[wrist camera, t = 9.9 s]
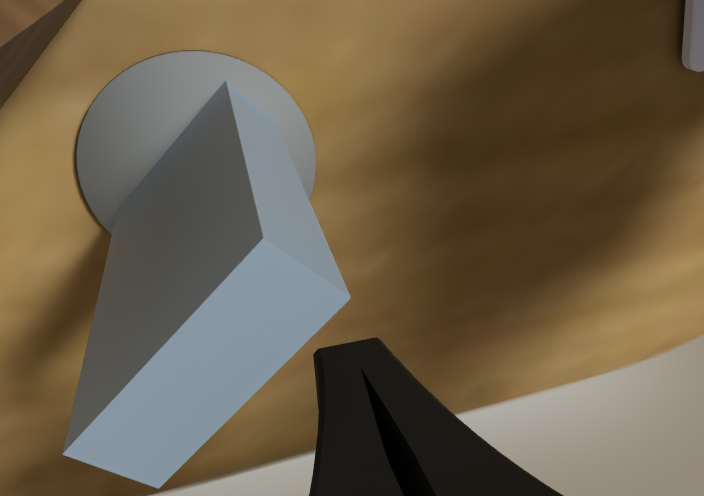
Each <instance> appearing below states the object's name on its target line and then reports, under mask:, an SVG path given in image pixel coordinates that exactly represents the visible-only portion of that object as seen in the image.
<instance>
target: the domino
mask: <svg viewBox="0 0 704 496" xmlns="http://www.w3.org/2000/svg"><path fill="white" fill-rule="evenodd" d="M80 1H81V0H0V109H1V107H2V106H3V104H4V103H5V102H6V100H7V99H8V98H9V96H10V95H11V94H12V92H13V91H14V90H15V88H16V87H17V86H18V84H19V83H20V82H21V80H22V79H23V78H24V76H25V75H26V74H27V72H28V71H29V70H30V68H31V67H32V66H33V64H34V63H35V62H36V60H37V59H38V57H39V56H40V55H41V53H42V52H43V51H44V49H45V48H46V47H47V45H48V44H49V43H50V41H51V40H52V39H53V37H54V36H55V35H56V33H57V32H58V31H59V29H60V28H61V27H62V25H63V24H64V23H65V21H66V20H67V19H68V17H69V16H70V14H71V13H72V12H73V10H74V9H75V8H76V6H77V5H78V4H79V2H80Z"/></svg>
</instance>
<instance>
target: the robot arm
mask: <svg viewBox="0 0 704 496" xmlns="http://www.w3.org/2000/svg"><path fill="white" fill-rule="evenodd" d="M682 64H683V65H684V66H685V68H687V69H690V70H693V71H696V72H700V71H704V0H686V2H685V17H684V32H683V46H682ZM313 357H314V367H315V377H316V388H317V398H318V408H319V420H318V436H317V445H316V453H315V461H314V469H313V477H312V483H311V488H310V494H309V496H563V495H562V494H560V493H558V492H557V491H555V490H553V489H552V488H550V487H549V486H547V485H545V484H544V483H542V482H541V481H540V480H538V479H537V478H535V477H534V476H532V475H531V474H529V473H528V472H526V471H525V470H523V469H522V468H521V467H519V466H518V465H516V464H515V463H514V462H512V461H511V460H510V459H508V458H507V457H505V456H504V455H502V454H501V453H500V452H498V451H497V450H496V449H495V448H493V447H492V446H491V445H490V444H488V443H487V442H486V441H485V440H483V439H482V438H481V437H480V436H478V435H477V434H476V433H475V432H474V431H472V430H471V429H470V428H469V427H468V426H466V425H465V424H464V423H463V422H462V421H461V420H459V419H458V418H457V417H456V416H455V415H454V414H453V413H452V412H450V411H449V410H448V409H447V408H446V407H445V406H444V405H443V404H442V403H441V402H440V401H439V400H438V399H436V398H435V397H434V396H433V395H432V394H431V393H430V392H429V391H428V390H427V389H426V388H425V387H424V386H423V385H422V384H421V383H420V382H419V381H418V380H417V379H416V378H415V377H414V376H413V375H412V374H411V373H410V372H409V371H408V370H407V369H406V368H405V367H404V366H403V365H402V363H401V362H400V361H399V360H398V359H397V358H396V357H395V356H394V355H393V354H392V352H391V351H390V350H389V349H388V348H387V347H386V346H385V344H384V343H383V342H382V341H381V340H379V339H378V338H377V337H376V338H371V339H366V340H361V341H356V342H351V343H346V344H341V345H335V346H330V347H325V348H320V349H318V350H317V351H316V352H315V353H314V354H313Z"/></svg>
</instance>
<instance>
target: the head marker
mask: <svg viewBox="0 0 704 496" xmlns="http://www.w3.org/2000/svg"><path fill="white" fill-rule="evenodd" d="M225 81H227V82H229V83H230V84H231V85H232V86H233V87H235V88H236V89H237V90H238V91H239V92H241V93H242V94H243V95H244V96H245V97H247V98H248V99H249V100H250V101H251V102H253V103H254V104H255V105H256V106H257V107H259V108H260V109H261V110H262V111H263V112H264V113H266V114H267V115H268V116H269V117H270V118H272V119H273V120H274V121H275V122H276V124H277V126H278V129H279V131H280V133H281V136H282V138H283V140H284V143H285V145H286V147H287V150H288V152H289V154H290V157H291V159H292V161H293V164H294V166H295V168H296V171H297V173H298V175H299V178H300V180H301V182H302V185H303V187H304V189H305V192H306V194H307V197H308V199H309V200H310V197H311V194H312V190H313V187H314V181H315V176H316V154H315V146H314V142H313V138H312V134H311V131H310V129H309V126H308V123H307V121H306V119H305V117H304V115H303V114H302V112H301V110H300V108H299V107H298V105H297V104H296V102H295V101H294V100H293V98H292V97H291V96H290V94H289V93H288V92H287V91H286V90H285V89H284V88H283V87H282V86H281V85H280V84H279V83H278V82H277V81H276V80H274V79H273V78H272V77H271V76H269V75H268V74H267V73H265V72H264V71H262V70H260V69H259V68H257V67H255V66H254V65H252V64H250V63H247V62H245V61H243V60H240V59H238V58H236V57H232V56H229V55H225V54H221V53H216V52H209V51H198V50H184V51H176V52H168V53H164V54H160V55H156V56H153V57H150V58H148V59H145V60H143V61H140V62H138V63H136V64H134V65H133V66H131V67H129V68H127V69H126V70H124V71H122V72H121V73H120V74H119V75H117V76H116V77H115V78H114V79H112V80H111V81H110V82H109V83H108V84H107V85H106V86H105V87H104V89H103V90H102V91H101V92H100V93H99V94H98V96H97V97H96V99H95V100H94V102H93V103H92V105H91V106H90V108H89V110H88V112H87V115H86V117H85V119H84V121H83V123H82V127H81V130H80V134H79V137H78V145H77V170H78V176H79V181H80V185H81V188H82V191H83V194H84V197H85V199H86V201H87V203H88V204H89V206H90V208H91V210H92V212H93V213H94V215H95V216H96V218H97V219H98V220H99V222H100V223H101V224H102V225H103V226H104V227H105V229H106V230H107V231H108V232H109V233H110V234H111V235H112V232H113V228H114V224H115V219H116V215H117V210H118V208H119V207H120V206H121V205H122V203H123V202H124V201H125V200H126V199H127V197H128V196H129V195H130V194H131V193H132V191H133V190H134V189H135V188H136V187H137V186H138V184H139V183H140V182H141V181H142V180H143V178H144V177H145V176H146V175H147V174H148V172H149V171H150V170H151V169H152V168H153V166H154V165H155V164H156V163H157V162H158V161H159V159H160V158H161V157H162V156H163V155H164V153H165V152H166V151H167V150H168V149H169V147H170V146H171V145H172V144H173V143H174V141H175V140H176V139H177V138H178V137H179V135H180V134H181V133H182V132H183V131H184V130H185V128H186V127H187V126H188V125H189V124H190V122H191V121H192V120H193V119H194V118H195V116H196V115H197V114H198V113H199V112H200V110H201V109H202V108H203V107H204V106H205V105H206V103H207V102H208V101H209V100H210V99H211V97H212V96H213V95H214V94H215V93H216V91H217V90H218V89H219V88H220V87H221V85H222V84H223V83H224V82H225Z"/></svg>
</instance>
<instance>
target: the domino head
mask: <svg viewBox="0 0 704 496" xmlns="http://www.w3.org/2000/svg"><path fill="white" fill-rule="evenodd" d="M350 299H351V297H350V295H349V293H348V290H347V288H346V286H345V283H344V281H343V278H342V276H341V274H340V271H339V269H338V267H337V264H336V262H335V260H334V257H333V255H332V253H331V250H330V248H329V246H328V243H327V241H326V239H325V236H324V234H323V232H322V229H321V227H320V225H319V222H318V220H317V218H316V215H315V213H314V211H313V208H312V206H311V204H310V201H309V199H308V197H307V194H306V192H305V189H304V187H303V185H302V182H301V180H300V178H299V175H298V173H297V171H296V168H295V166H294V164H293V161H292V159H291V157H290V154H289V152H288V150H287V147H286V145H285V143H284V140H283V138H282V136H281V133H280V131H279V129H278V126H277V124H276V122H275V121H274V120H273V119H272V118H270V117H269V116H268V115H267V114H266V113H264V112H263V111H262V110H261V109H260V108H259V107H257V106H256V105H255V104H254V103H253V102H251V101H250V100H249V99H248V98H247V97H245V96H244V95H243V94H242V93H241V92H239V91H238V90H237V89H236V88H235V87H233V86H232V85H231V84H230V83H229V82H227V81H225V82H224V83H223V84H222V85H221V87H220V88H219V89H218V90H217V91H216V93H215V94H214V95H213V96H212V97H211V99H210V100H209V101H208V102H207V103H206V105H205V106H204V107H203V108H202V109H201V110H200V112H199V113H198V114H197V115H196V116H195V118H194V119H193V120H192V121H191V122H190V124H189V125H188V126H187V127H186V128H185V130H184V131H183V132H182V133H181V134H180V135H179V137H178V138H177V139H176V140H175V141H174V143H173V144H172V145H171V146H170V147H169V149H168V150H167V151H166V152H165V153H164V155H163V156H162V157H161V158H160V159H159V161H158V162H157V163H156V164H155V165H154V166H153V168H152V169H151V170H150V171H149V172H148V174H147V175H146V176H145V177H144V178H143V180H142V181H141V182H140V183H139V184H138V186H137V187H136V188H135V189H134V190H133V191H132V193H131V194H130V195H129V196H128V197H127V199H126V200H125V201H124V202H123V203H122V205H121V206H120V207H119V208H118V210H117V215H116V219H115V224H114V228H113V232H112V237H111V241H110V246H109V250H108V254H107V259H106V263H105V268H104V272H103V276H102V281H101V285H100V290H99V294H98V299H97V303H96V307H95V312H94V316H93V321H92V325H91V329H90V334H89V338H88V343H87V347H86V351H85V356H84V360H83V365H82V369H81V373H80V378H79V382H78V387H77V391H76V395H75V400H74V404H73V409H72V413H71V418H70V422H69V426H68V431H67V435H66V440H65V444H64V448H63V453H62V455H65V456H68V457H70V458H73V459H76V460H79V461H82V462H85V463H87V464H90V465H93V466H96V467H99V468H102V469H104V470H107V471H110V472H113V473H116V474H118V475H121V476H124V477H127V478H130V479H133V480H135V481H138V482H141V483H144V484H147V485H149V486H152V487H155V488H158V489H159V488H160V487H161V486H162V485H163V484H164V483H165V482H166V481H167V480H168V479H169V478H170V477H171V476H172V475H173V474H174V473H175V472H176V471H177V470H178V469H179V468H180V467H181V466H182V465H183V464H184V463H185V462H186V461H187V460H188V459H189V458H190V457H191V456H192V455H193V454H194V453H195V452H196V451H197V450H198V449H199V448H200V447H201V446H202V445H203V444H204V443H205V442H206V441H207V440H208V439H209V438H210V437H211V436H212V435H213V434H214V433H215V432H216V431H217V430H218V429H219V428H220V427H222V426H223V425H224V424H225V423H226V422H227V421H228V420H229V419H230V418H231V417H232V416H233V415H234V414H235V413H236V412H237V411H238V410H239V409H240V408H241V407H242V406H243V405H244V404H245V403H246V402H247V401H248V400H249V399H250V398H251V397H252V396H253V395H254V394H255V393H256V392H257V391H258V390H259V389H260V388H261V387H262V386H263V385H264V384H265V383H266V382H267V381H268V380H269V379H270V378H271V377H272V376H273V375H274V374H275V373H276V372H277V371H278V370H279V369H280V368H281V367H282V366H283V365H284V364H285V363H286V362H287V361H288V360H289V359H290V358H291V357H292V356H293V355H294V354H295V353H296V352H297V351H298V350H299V349H300V348H301V347H302V346H303V345H304V344H305V343H306V342H307V341H308V340H309V339H310V338H311V337H312V336H313V335H314V334H315V333H316V332H317V331H318V330H319V329H320V328H321V327H322V326H323V325H324V324H325V323H326V322H327V321H328V320H329V319H330V318H331V317H332V316H333V315H335V314H336V313H337V312H338V311H339V310H340V309H341V308H342V307H343V306H344V305H345V304H346V303H347V302H348V301H349V300H350Z"/></svg>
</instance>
